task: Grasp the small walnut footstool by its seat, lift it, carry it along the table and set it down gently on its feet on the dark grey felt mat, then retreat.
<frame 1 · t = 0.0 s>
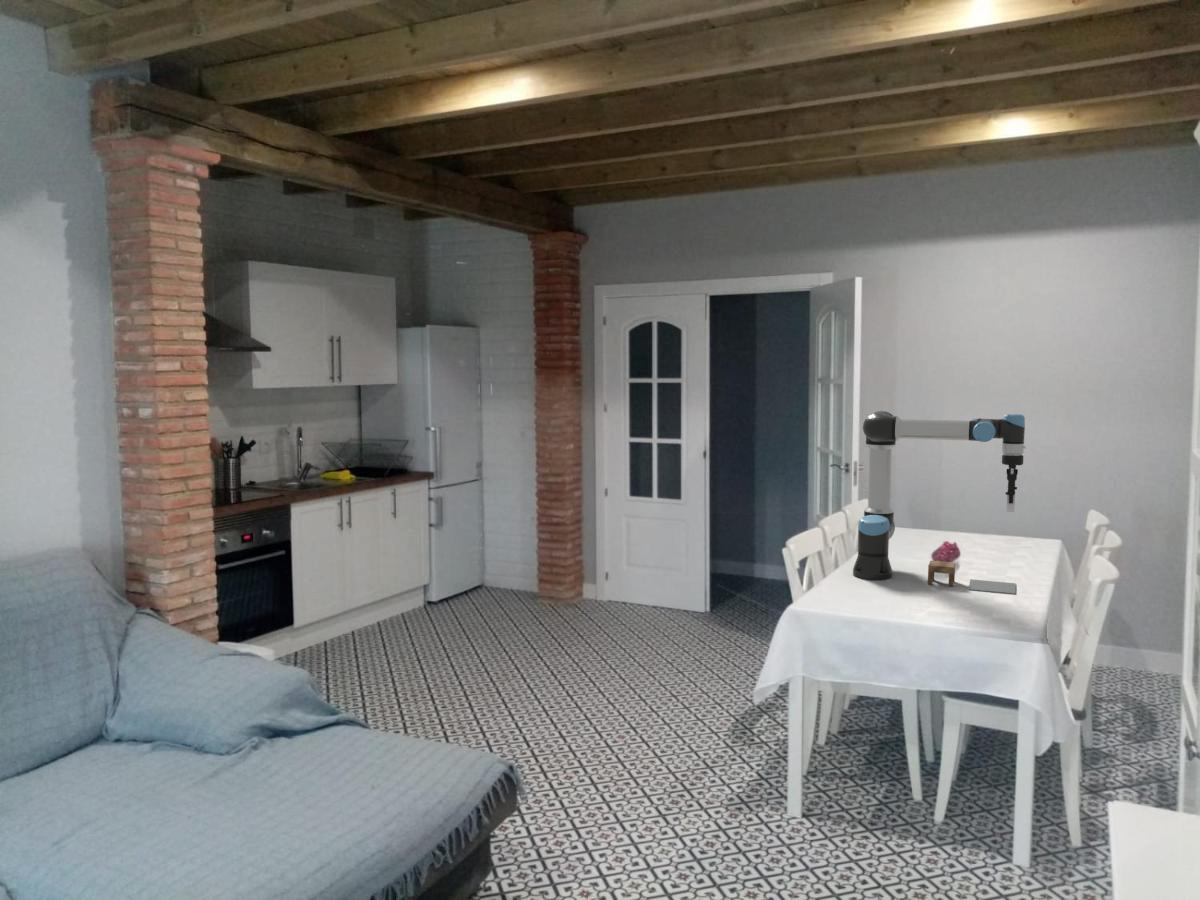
hand: (1010, 508, 354), 28 cm above the table, fingers open, 13 cm apart
stool: (941, 583, 352), on the table
mat: (992, 587, 345), on the table
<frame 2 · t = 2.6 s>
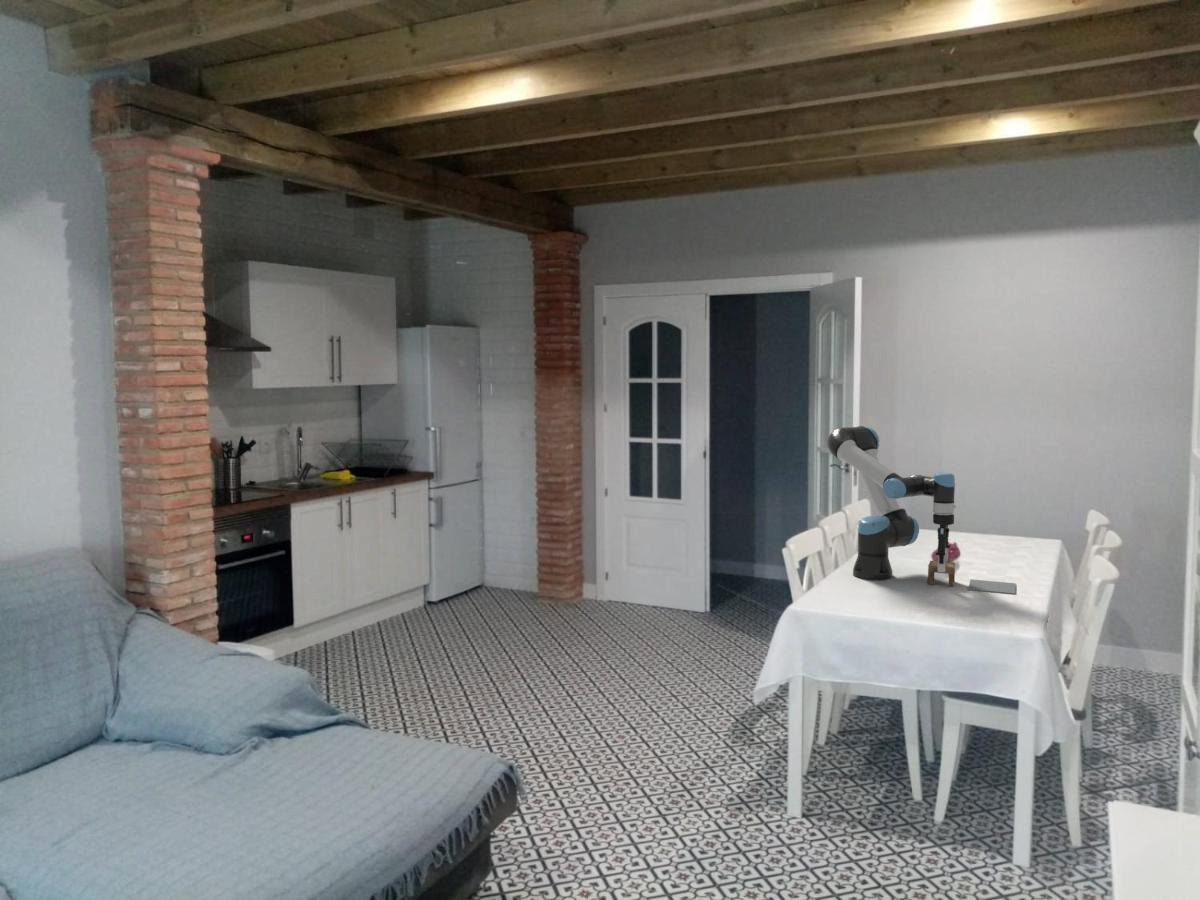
hand: (942, 568, 351), 6 cm above the table, fingers open, 13 cm apart
nothing on the table moved.
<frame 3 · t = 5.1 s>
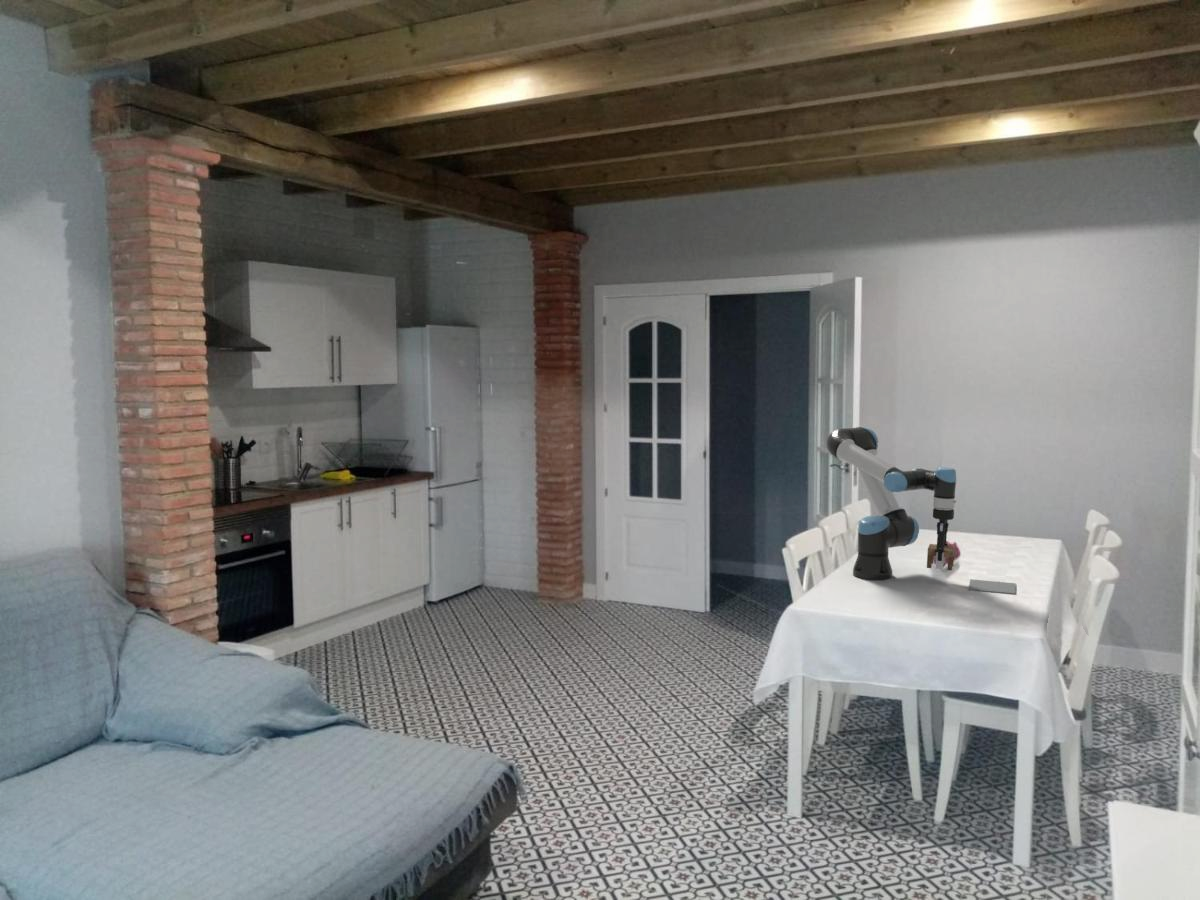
hand: (940, 565, 352), 7 cm above the table, fingers closed on stool, 9 cm apart
stool: (940, 566, 352), point 6 cm above the table, touching gripper
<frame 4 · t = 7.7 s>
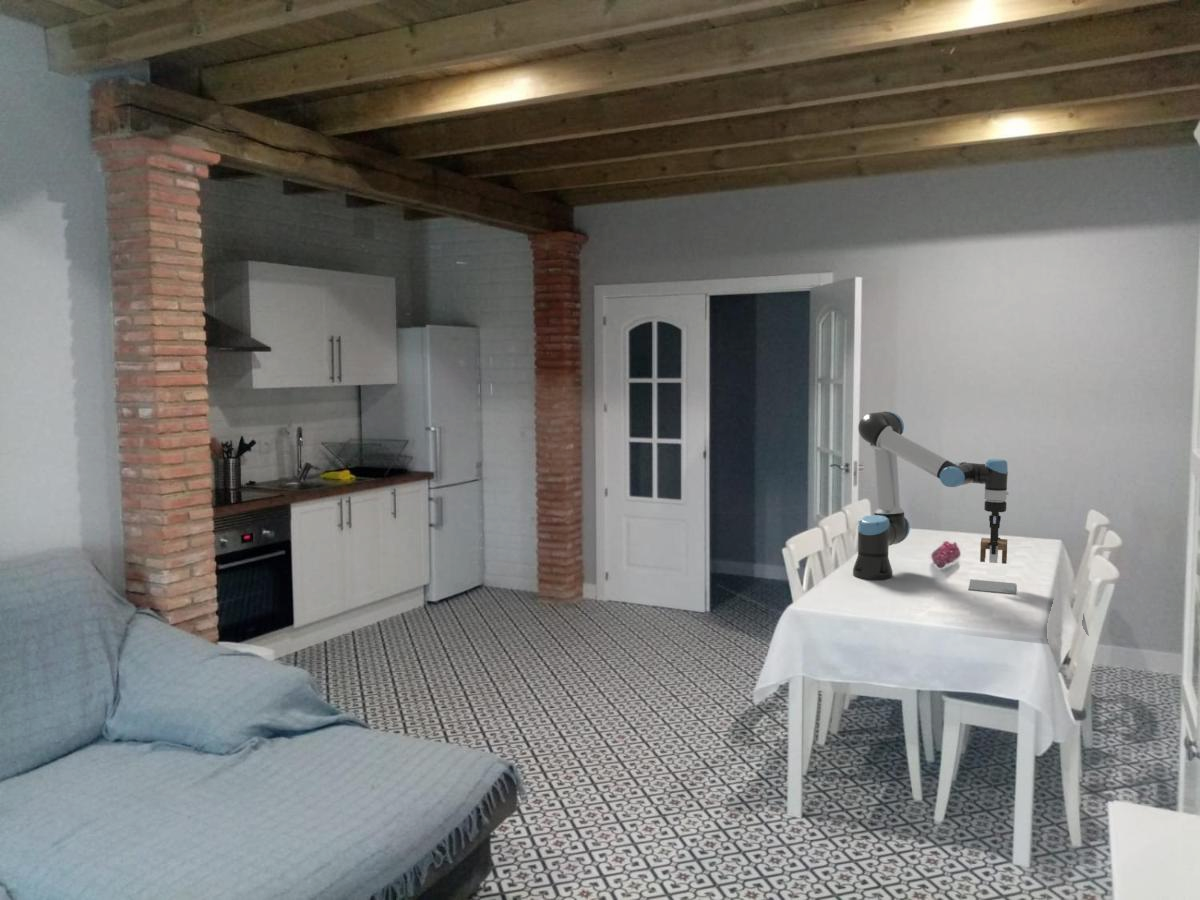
hand: (993, 559, 344), 11 cm above the table, fingers closed on stool, 9 cm apart
stool: (993, 560, 344), point 10 cm above the table, touching gripper
when the fingers open (1 cm above the table, at t = 10.2 s): stool stays where it is, resting on mat.
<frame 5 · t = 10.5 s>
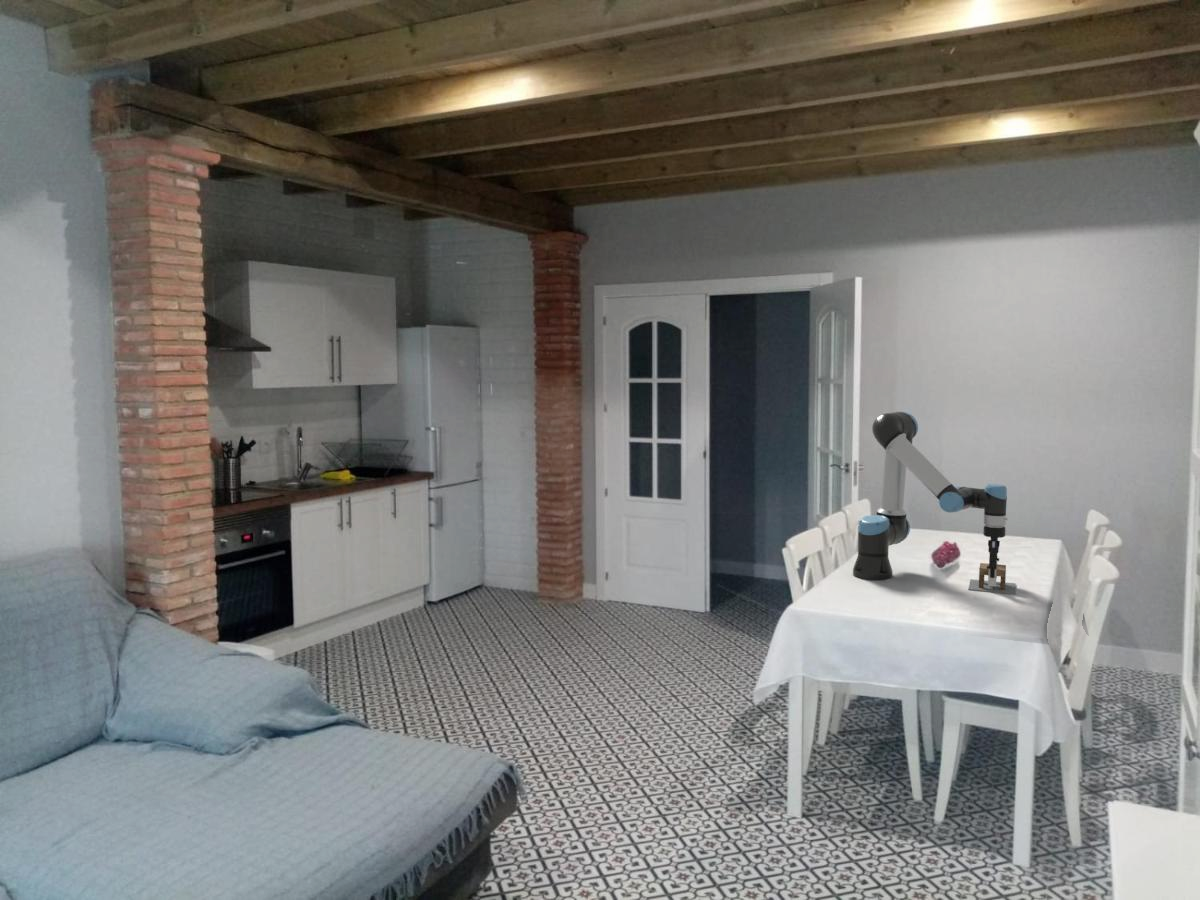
hand: (992, 581, 345), 2 cm above the table, fingers open, 12 cm apart
stool: (992, 586, 345), resting on mat
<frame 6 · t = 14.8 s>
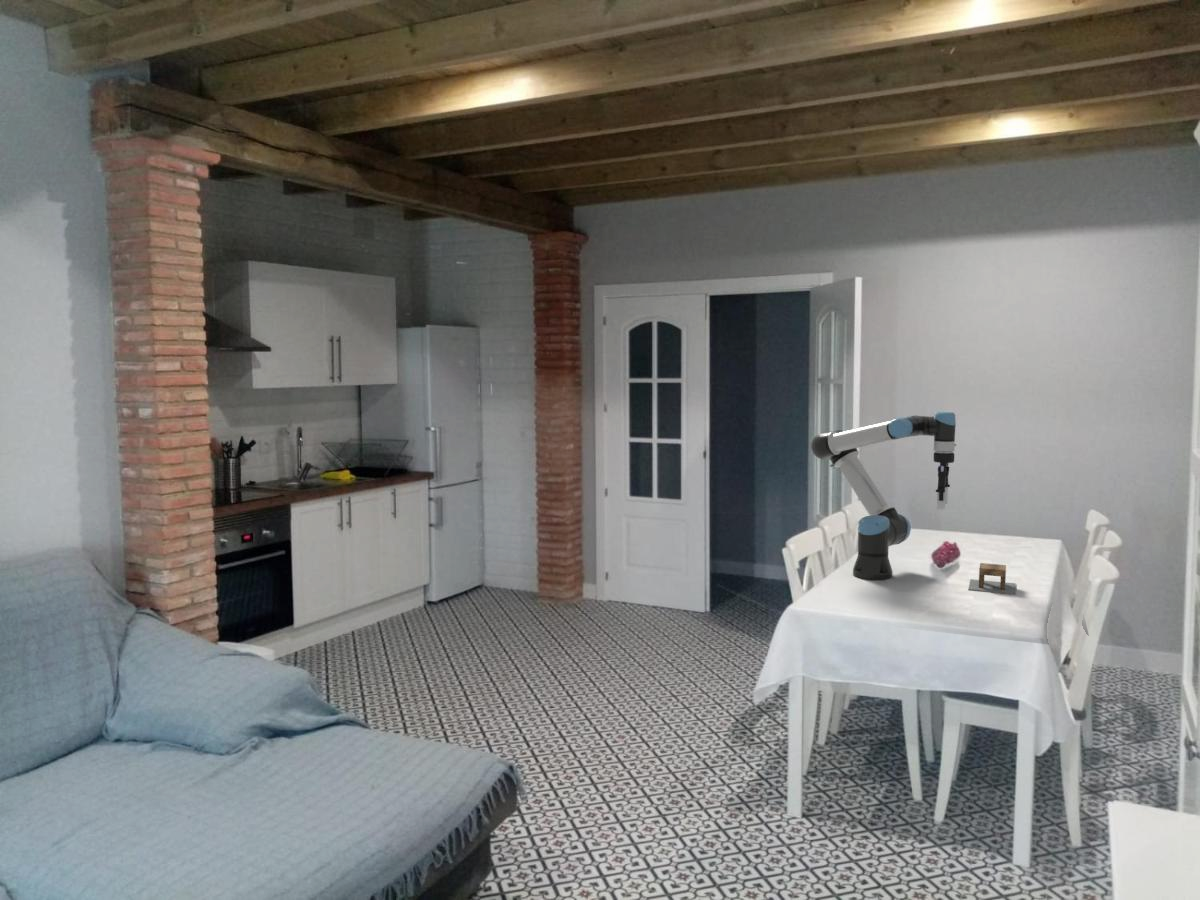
hand: (942, 506, 356), 29 cm above the table, fingers open, 13 cm apart
nothing on the table moved.
at the end: stool inside the target area on the mat (0.1 cm from its centre), point 0.4 cm above the mat's base; stool tilted 0°; the gripper is holding nothing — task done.
